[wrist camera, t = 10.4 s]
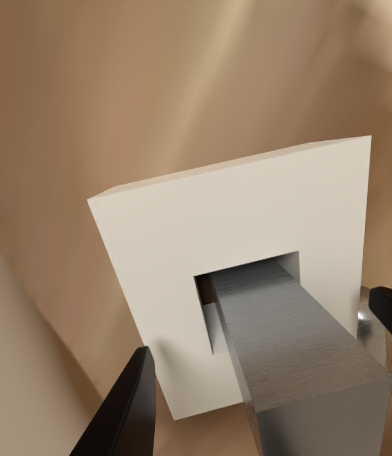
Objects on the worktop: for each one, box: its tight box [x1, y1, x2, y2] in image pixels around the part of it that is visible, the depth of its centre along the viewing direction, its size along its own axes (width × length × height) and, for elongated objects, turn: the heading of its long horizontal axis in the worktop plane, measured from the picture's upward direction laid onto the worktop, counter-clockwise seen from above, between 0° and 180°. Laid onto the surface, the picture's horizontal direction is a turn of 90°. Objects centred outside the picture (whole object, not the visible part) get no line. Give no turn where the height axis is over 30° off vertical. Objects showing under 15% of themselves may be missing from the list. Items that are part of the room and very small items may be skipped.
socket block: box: [87, 135, 371, 420], centre depth 11 cm, size 12×10×4 cm
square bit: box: [207, 257, 392, 456], centre depth 9 cm, size 3×3×8 cm
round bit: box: [356, 285, 388, 370], centre depth 14 cm, size 8×3×3 cm
